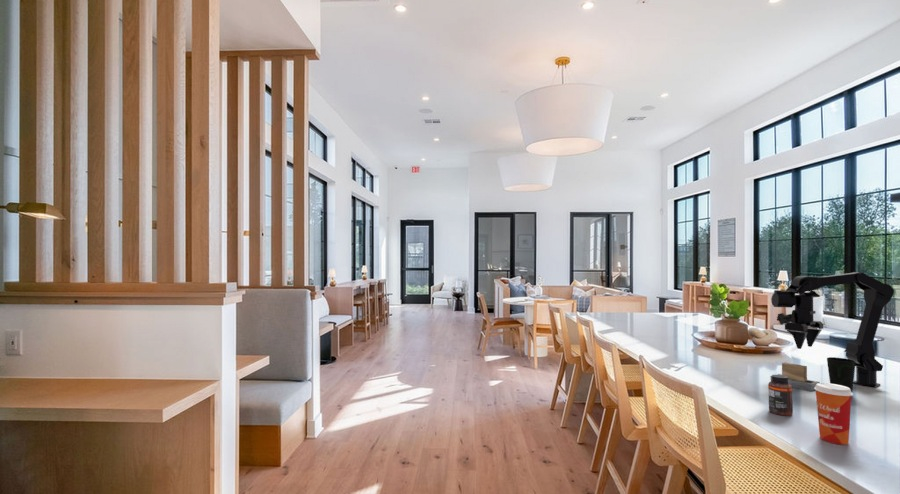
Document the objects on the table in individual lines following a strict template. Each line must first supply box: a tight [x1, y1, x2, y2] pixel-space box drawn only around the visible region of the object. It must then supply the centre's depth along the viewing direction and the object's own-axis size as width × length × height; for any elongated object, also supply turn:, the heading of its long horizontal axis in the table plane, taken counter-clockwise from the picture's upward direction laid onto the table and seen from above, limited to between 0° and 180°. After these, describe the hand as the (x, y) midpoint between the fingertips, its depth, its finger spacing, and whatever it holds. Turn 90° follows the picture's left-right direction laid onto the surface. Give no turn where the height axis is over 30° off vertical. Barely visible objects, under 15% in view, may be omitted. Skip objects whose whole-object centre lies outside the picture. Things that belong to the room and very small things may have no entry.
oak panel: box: [781, 362, 808, 383], centre depth 166 cm, size 2×7×7 cm, turn 30°
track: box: [770, 373, 821, 392], centre depth 166 cm, size 7×13×2 cm, turn 31°
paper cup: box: [814, 382, 854, 446], centre depth 114 cm, size 8×8×14 cm
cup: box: [826, 356, 856, 393], centre depth 156 cm, size 8×8×12 cm
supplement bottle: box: [767, 374, 794, 417], centre depth 135 cm, size 6×6×11 cm
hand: (804, 347), depth 173 cm, fingers open, 9 cm apart
